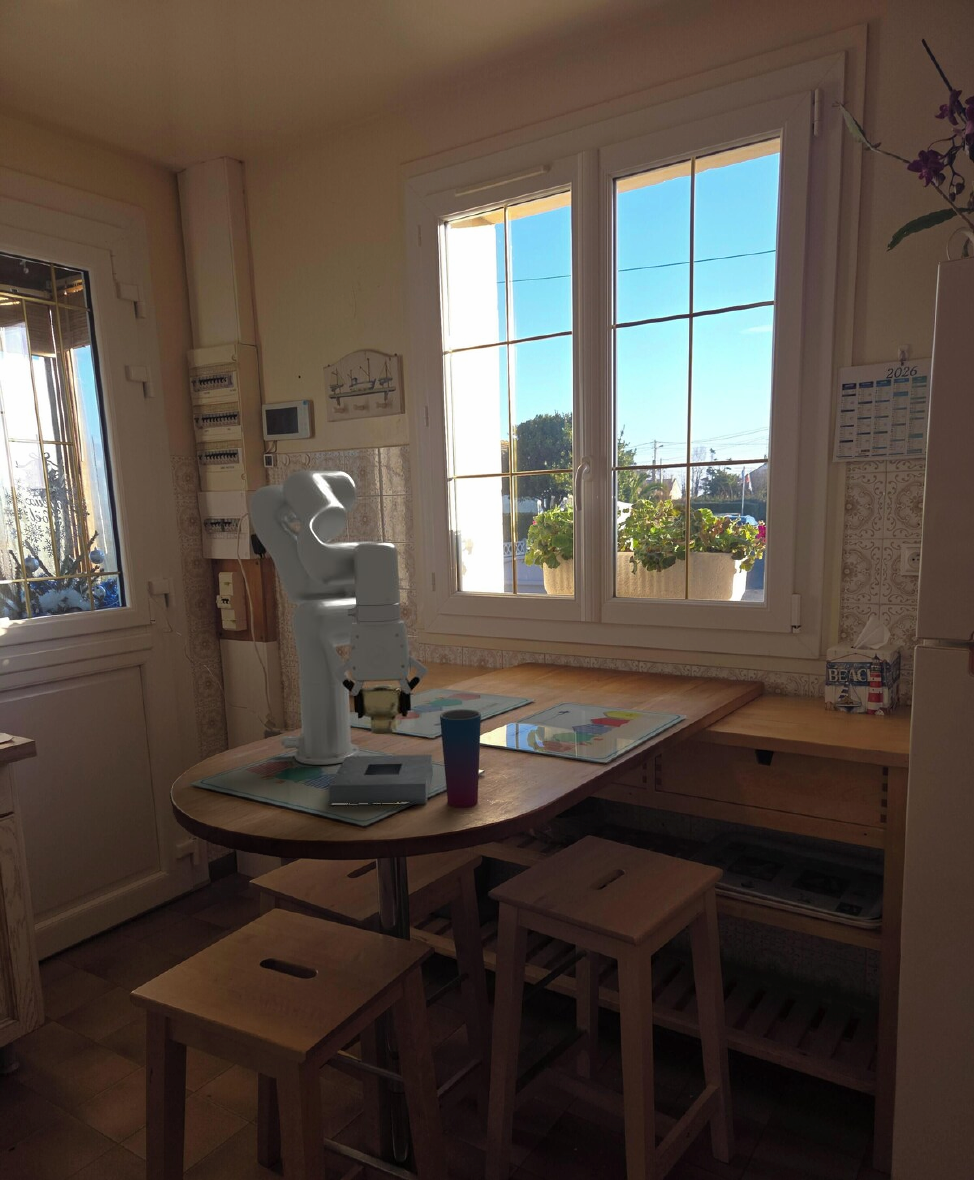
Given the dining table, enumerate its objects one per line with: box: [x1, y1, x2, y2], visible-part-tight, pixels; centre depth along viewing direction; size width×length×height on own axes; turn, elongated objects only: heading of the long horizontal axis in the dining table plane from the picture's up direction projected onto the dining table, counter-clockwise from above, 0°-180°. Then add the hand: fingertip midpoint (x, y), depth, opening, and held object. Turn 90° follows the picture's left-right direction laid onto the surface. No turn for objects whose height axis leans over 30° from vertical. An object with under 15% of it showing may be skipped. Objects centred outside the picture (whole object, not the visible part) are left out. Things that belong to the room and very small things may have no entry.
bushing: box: [361, 683, 403, 735], centre depth 141 cm, size 7×7×8 cm
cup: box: [439, 708, 482, 809], centre depth 134 cm, size 7×7×15 cm
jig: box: [328, 754, 434, 805], centre depth 143 cm, size 16×16×4 cm
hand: (383, 715), depth 141 cm, fingers closed on bushing, 7 cm apart
